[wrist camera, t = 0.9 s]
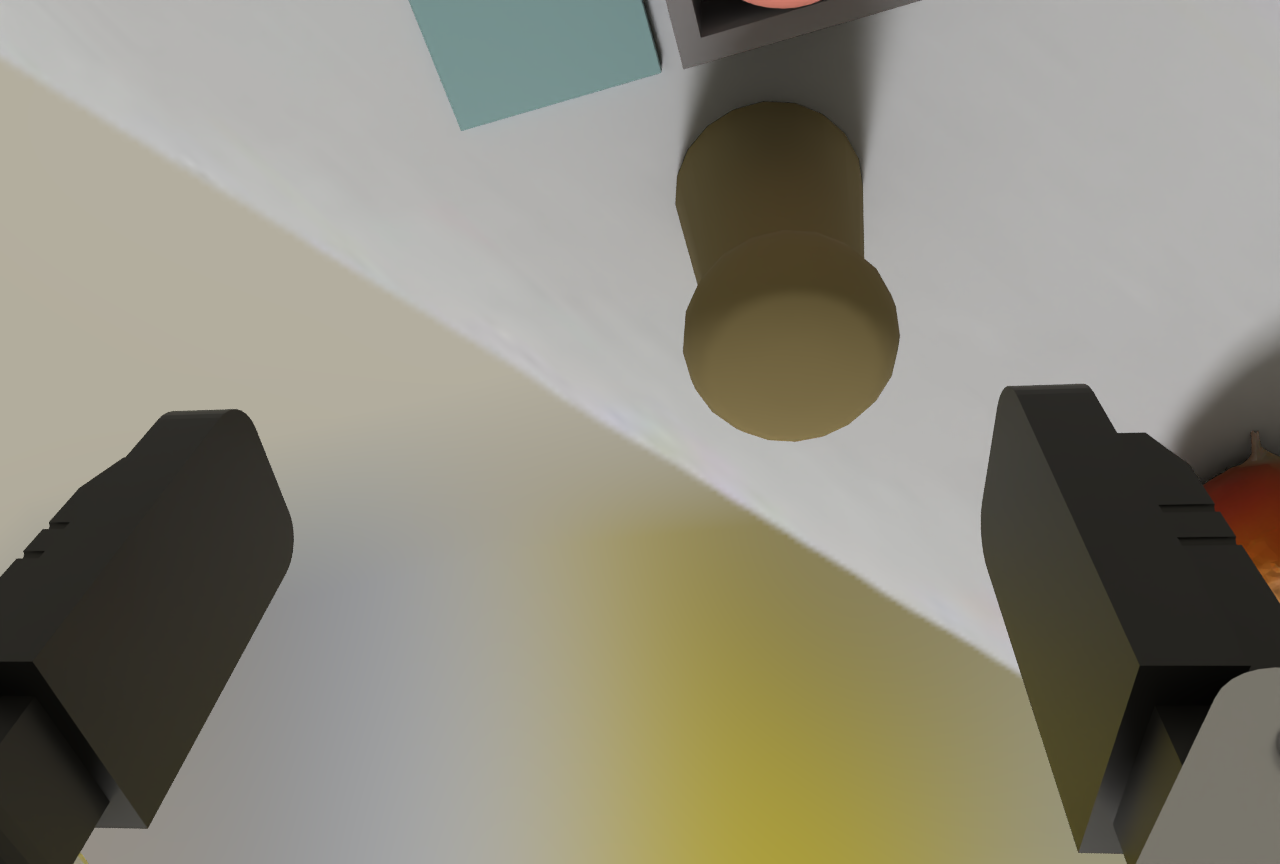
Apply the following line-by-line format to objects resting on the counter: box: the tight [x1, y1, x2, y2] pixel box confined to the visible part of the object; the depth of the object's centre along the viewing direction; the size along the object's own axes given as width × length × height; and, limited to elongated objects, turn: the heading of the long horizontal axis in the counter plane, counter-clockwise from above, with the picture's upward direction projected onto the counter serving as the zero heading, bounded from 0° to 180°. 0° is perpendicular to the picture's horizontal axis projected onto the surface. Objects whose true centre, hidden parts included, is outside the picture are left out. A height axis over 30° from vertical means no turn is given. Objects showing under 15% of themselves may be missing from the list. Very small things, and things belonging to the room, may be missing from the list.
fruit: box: [1203, 431, 1280, 603], centre depth 34 cm, size 8×8×8 cm
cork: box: [675, 101, 900, 442], centre depth 26 cm, size 6×6×11 cm
